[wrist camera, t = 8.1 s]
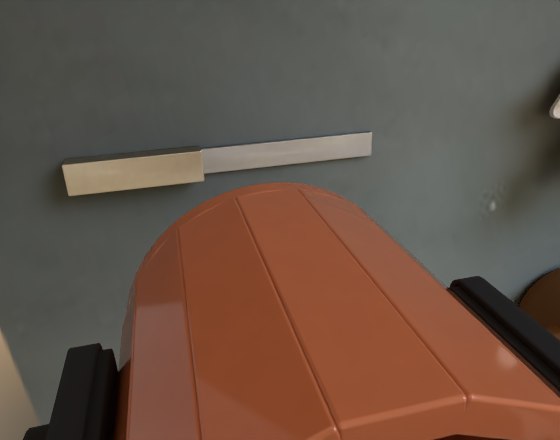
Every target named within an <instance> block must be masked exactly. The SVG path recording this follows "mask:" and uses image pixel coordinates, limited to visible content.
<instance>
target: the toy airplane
mask: <svg viewBox="0 0 560 440" xmlns="http://www.w3.org/2000/svg"><path fill="white" fill-rule="evenodd" d="M549 114H550V116H551V117H552V118H560V94H559V96H558V97H557V99H556V100H555V102H554V104H553V105H552V107H551V108H550V111H549Z"/></svg>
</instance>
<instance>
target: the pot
mask: <svg viewBox="0 0 560 440" xmlns="http://www.w3.org/2000/svg"><path fill="white" fill-rule="evenodd" d="M112 440H560V392H559V391H558V390H557V389H556V388H555V387H554V386H553V385H552V384H551V383H550V382H549V381H548V380H546V379H545V378H544V377H543V376H542V375H541V374H540V373H539V372H538V371H537V370H536V369H535V368H534V367H533V366H531V365H530V364H529V363H528V362H527V361H526V360H525V359H524V358H523V357H522V356H521V355H520V354H519V353H518V352H516V351H515V350H514V349H513V348H512V347H511V346H510V345H509V344H508V343H507V342H506V341H505V340H504V339H503V338H501V337H500V336H499V335H498V334H497V333H496V332H495V331H494V330H493V329H492V328H491V327H490V326H489V325H488V324H486V323H485V322H484V321H483V320H482V319H481V318H480V317H479V316H478V315H477V314H476V313H475V312H474V311H473V310H472V309H470V308H469V307H468V306H467V305H466V304H465V303H464V302H463V301H462V300H461V299H460V298H459V297H458V296H457V295H455V294H454V293H453V292H452V291H451V290H450V289H449V288H448V287H447V286H446V285H445V284H444V283H443V282H442V281H440V280H439V279H438V278H437V277H436V276H435V275H434V274H433V273H432V272H431V271H430V270H429V269H428V268H427V267H425V266H424V265H423V264H422V263H421V262H420V261H419V260H418V259H417V258H416V257H415V256H414V255H413V254H412V253H410V252H409V251H408V250H407V249H406V248H405V247H404V246H403V245H402V244H401V243H400V242H399V241H398V240H397V239H395V238H394V237H393V236H392V235H391V234H390V233H389V232H388V231H386V230H385V229H384V228H383V227H382V226H381V225H379V224H378V223H377V222H376V221H375V220H374V219H373V218H371V217H370V216H369V215H368V214H367V213H366V212H365V211H364V210H363V209H361V208H360V207H358V206H357V205H356V204H354V203H353V202H352V201H350V200H348V199H346V198H344V197H342V196H340V195H338V194H336V193H334V192H331V191H328V190H325V189H322V188H320V187H315V186H310V185H305V184H299V183H284V182H279V183H263V184H257V185H252V186H246V187H241V188H238V189H235V190H232V191H229V192H226V193H223V194H220V195H218V196H216V197H214V198H212V199H210V200H208V201H205V202H203V203H202V204H200V205H198V206H197V207H195V208H194V209H192V210H190V211H189V212H187V213H186V214H184V215H183V216H182V217H181V218H180V219H178V220H177V221H176V222H175V223H173V224H172V225H171V226H170V227H169V228H168V229H167V230H166V231H165V232H164V233H163V234H162V235H161V236H160V237H159V238H158V240H157V241H156V242H155V243H154V245H153V246H152V247H151V249H150V250H149V252H148V253H147V254H146V256H145V257H144V259H143V261H142V263H141V265H140V267H139V269H138V271H137V273H136V275H135V278H134V281H133V284H132V286H131V289H130V294H129V299H128V304H127V312H126V317H125V321H124V324H123V328H122V338H121V348H120V358H119V368H118V379H117V389H116V399H115V409H114V420H113V430H112Z"/></svg>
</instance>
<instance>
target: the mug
mask: <svg viewBox="0 0 560 440" xmlns="http://www.w3.org/2000/svg"><path fill="white" fill-rule="evenodd" d="M519 308H520V309H522V310H523V311H524V312H525V313H527V314H528V315H529V316H530V317H532V318H533V319H534V320H535V321H537V322H538V323H539V324H540V325H542V326H543V327H544V328H545V329H546V330H548V331H549V332H550V333H551V334H553V335H554V336H555V337H556V338H558V339H559V340H560V269H557V270H554V271H552V272H550V273H548V274H546V275H545V276H543V277H542V278H540V279H539V280H538V281H537V282H535V283H534V284H533V285H532V286H531V288H530V289H529V290H528V291H527V292H526V294H525V295H524V297H523V298H522V300H521V302H520V304H519Z"/></svg>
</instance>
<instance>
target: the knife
mask: <svg viewBox="0 0 560 440" xmlns="http://www.w3.org/2000/svg"><path fill="white" fill-rule="evenodd" d="M371 147H372V132H370V131H369V132H359V133H349V134H339V135H329V136H318V137H308V138H298V139H288V140H278V141H268V142H258V143H248V144H238V145H228V146H218V147H208V148H200V146H192V147H182V148H172V149H162V150H151V151H141V152H131V153H121V154H111V155H101V156H90V157H80V158H70V159H65V161H64V162H63V164H62V169H63V174H64V178H65V183H66V187H67V192H68V195H69V196H76V195H85V194H94V193H103V192H112V191H121V190H130V189H139V188H148V187H156V186H165V185H174V184H183V183H192V182H201V181H204V180H205V179H204V174H205V173H215V172H224V171H233V170H242V169H251V168H260V167H269V166H279V165H288V164H297V163H306V162H315V161H324V160H333V159H343V158H352V157H361V156H370V155H371Z"/></svg>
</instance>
